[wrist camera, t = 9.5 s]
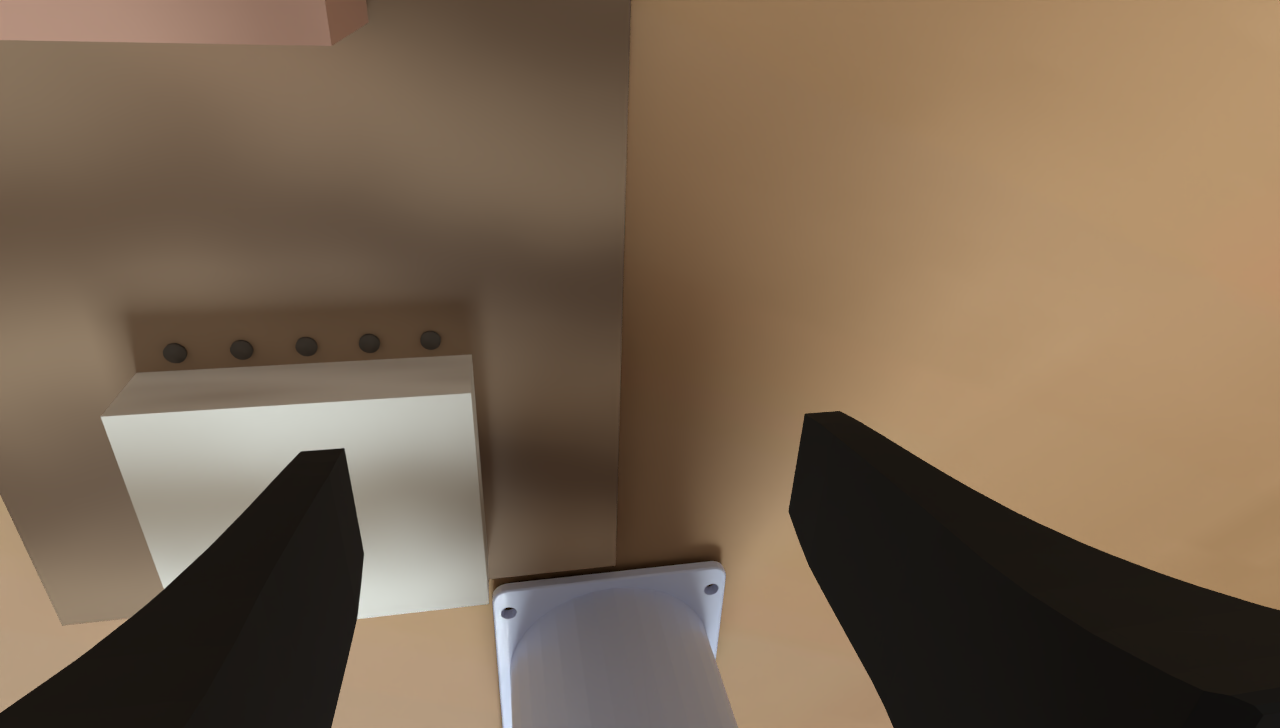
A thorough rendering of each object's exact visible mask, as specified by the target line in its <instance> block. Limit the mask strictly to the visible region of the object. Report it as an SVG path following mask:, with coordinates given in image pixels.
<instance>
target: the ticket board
mask: <svg viewBox="0 0 1280 728" xmlns="http://www.w3.org/2000/svg"><path fill="white" fill-rule="evenodd" d="M366 4H367V12H368V19H369V23H367V24H365V25H364V26H362V27H361V28H359V29H358V30H356V31H354V32H353V33H351V34H350V35H348V36H347V37H345V38H343V39H342V40H340V41H339V42H337V43H336V44H334V45H332V46H303V45H247V44H192V43H136V42H80V41H25V40H0V495H1V497H2V499H3V501H4V503H5V505H6V507H7V510H8V512H9V514H10V516H11V518H12V520H13V522H14V524H15V526H16V529H17V531H18V533H19V535H20V537H21V539H22V541H23V543H24V546H25V548H26V550H27V552H28V554H29V556H30V558H31V560H32V563H33V565H34V567H35V569H36V571H37V573H38V575H39V577H40V579H41V582H42V584H43V586H44V588H45V590H46V592H47V594H48V596H49V599H50V601H51V603H52V605H53V607H54V609H55V611H56V613H57V616H58V618H59V620H60V622H61V624H62V626H63V625H72V624H81V623H90V622H99V621H109V620H118V619H127V618H131V617H132V616H133V615H134V614H136V613H137V612H138V611H139V610H140V609H142V608H143V607H144V606H145V605H146V604H148V603H149V602H150V601H151V600H152V599H153V598H154V597H156V596H157V595H158V594H159V593H160V592H161V591H163V590H164V589H165V588H166V587H167V586H168V585H169V584H170V583H171V582H172V581H173V580H174V579H175V578H176V577H178V576H179V575H180V574H181V573H182V572H183V571H184V570H185V569H186V568H187V567H188V566H189V565H190V564H192V563H193V562H194V561H195V560H196V559H197V558H198V557H199V556H200V555H201V554H202V553H203V552H204V551H206V550H207V549H208V548H209V547H210V546H211V545H212V544H213V543H214V542H215V541H216V540H217V539H218V537H219V536H220V535H221V534H222V533H223V532H224V531H225V530H226V529H227V528H228V527H229V526H230V525H231V524H232V523H233V522H234V521H235V520H236V519H237V518H238V517H239V516H240V515H241V514H242V513H243V512H244V511H245V510H246V509H247V508H248V507H249V506H250V504H251V503H252V502H253V501H254V500H255V499H256V498H257V497H258V496H259V495H260V494H261V493H262V492H263V491H264V490H265V488H266V487H267V486H268V485H269V484H270V483H271V482H272V481H273V480H274V479H275V478H276V477H277V476H278V474H279V473H280V472H281V471H282V470H283V469H284V468H285V467H286V466H287V465H288V464H289V463H290V462H291V461H292V460H293V459H294V458H295V457H296V456H297V455H298V454H299V453H300V452H301V451H312V450H326V449H339V448H345V454H346V459H347V464H348V470H349V475H350V480H351V486H352V491H353V496H354V502H355V507H356V512H357V518H358V523H359V529H360V534H361V539H362V545H363V550H364V561H363V571H362V582H361V591H360V600H359V609H358V616H357V619H362V618H371V617H379V616H388V615H397V614H406V613H414V612H423V611H432V610H441V609H449V608H458V607H467V606H476V605H484V604H489V580H488V579H496V578H505V577H515V576H524V575H533V574H542V573H551V572H561V571H570V570H579V569H588V568H598V567H607V566H616V533H617V496H618V459H619V422H620V385H621V348H622V310H623V273H624V236H625V199H626V162H627V125H628V88H629V51H630V14H631V0H366Z"/></svg>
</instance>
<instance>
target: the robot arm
mask: <svg viewBox="0 0 1280 728" xmlns="http://www.w3.org/2000/svg"><path fill="white" fill-rule="evenodd" d="M789 514H790V517H791V520H792V523H793V525H794V528H795V531H796V534H797V537H798V539H799V542H800V545H801V547H802V550H803V552H804V555H805V557H806V560H807V562H808V565H809V567H810V568H811V570H812V572H813V574H814V576H815V578H816V580H817V582H818V584H819V585H820V587H821V589H822V591H823V593H824V595H825V597H826V598H827V600H828V602H829V604H830V606H831V608H832V610H833V611H834V613H835V615H836V617H837V619H838V620H839V622H840V624H841V626H842V628H843V629H844V631H845V633H846V635H847V637H848V639H849V640H850V642H851V644H852V646H853V648H854V649H855V651H856V653H857V655H858V657H859V658H860V660H861V662H862V664H863V666H864V668H865V669H866V671H867V673H868V675H869V677H870V678H871V680H872V682H873V684H874V686H875V688H876V690H877V692H878V694H879V696H880V698H881V700H882V702H883V704H884V706H885V709H886V711H887V713H888V716H889V718H890V720H891V723H892V725H893V727H894V728H1280V610H1276V609H1272V608H1269V607H1265V606H1261V605H1258V604H1254V603H1251V602H1248V601H1244V600H1241V599H1238V598H1235V597H1231V596H1228V595H1225V594H1222V593H1218V592H1215V591H1212V590H1209V589H1205V588H1202V587H1199V586H1196V585H1193V584H1190V583H1187V582H1184V581H1181V580H1178V579H1175V578H1172V577H1169V576H1166V575H1164V574H1161V573H1158V572H1155V571H1153V570H1150V569H1147V568H1145V567H1142V566H1139V565H1137V564H1134V563H1131V562H1129V561H1126V560H1123V559H1121V558H1118V557H1116V556H1113V555H1110V554H1108V553H1105V552H1103V551H1100V550H1098V549H1095V548H1093V547H1091V546H1088V545H1086V544H1083V543H1081V542H1079V541H1076V540H1074V539H1072V538H1070V537H1068V536H1066V535H1063V534H1061V533H1059V532H1057V531H1055V530H1052V529H1050V528H1048V527H1046V526H1044V525H1041V524H1039V523H1037V522H1035V521H1033V520H1031V519H1029V518H1027V517H1025V516H1023V515H1021V514H1018V513H1016V512H1014V511H1013V510H1011V509H1009V508H1007V507H1005V506H1003V505H1001V504H999V503H997V502H996V501H994V500H992V499H990V498H988V497H986V496H984V495H983V494H981V493H979V492H977V491H975V490H973V489H971V488H970V487H968V486H966V485H964V484H963V483H961V482H959V481H957V480H956V479H954V478H952V477H950V476H949V475H947V474H945V473H944V472H942V471H940V470H938V469H937V468H935V467H933V466H932V465H930V464H928V463H927V462H925V461H923V460H922V459H920V458H919V457H917V456H915V455H914V454H912V453H910V452H909V451H907V450H905V449H904V448H902V447H901V446H899V445H897V444H896V443H894V442H892V441H891V440H889V439H888V438H886V437H884V436H883V435H881V434H879V433H878V432H876V431H874V430H873V429H871V428H869V427H868V426H866V425H864V424H863V423H861V422H859V421H857V420H856V419H854V418H852V417H850V416H848V415H846V414H844V413H842V412H840V411H835V412H822V413H808V414H805V416H804V422H803V428H802V434H801V440H800V446H799V452H798V458H797V464H796V470H795V476H794V482H793V488H792V494H791V500H790V506H789ZM363 561H364V550H363V545H362V539H361V534H360V529H359V523H358V518H357V512H356V507H355V502H354V496H353V491H352V486H351V480H350V475H349V470H348V464H347V459H346V454H345V448H339V449H326V450H312V451H301V452H300V453H299V454H298V455H297V456H296V457H295V458H294V459H293V460H292V461H291V462H290V463H289V464H288V465H287V466H286V467H285V468H284V469H283V470H282V471H281V472H280V473H279V474H278V476H277V477H276V478H275V479H274V480H273V481H272V482H271V483H270V484H269V485H268V486H267V487H266V488H265V490H264V491H263V492H262V493H261V494H260V495H259V496H258V497H257V498H256V499H255V500H254V501H253V502H252V503H251V504H250V506H249V507H248V508H247V509H246V510H245V511H244V512H243V513H242V514H241V515H240V516H239V517H238V518H237V519H236V520H235V521H234V522H233V523H232V524H231V525H230V526H229V527H228V528H227V529H226V530H225V531H224V532H223V533H222V534H221V535H220V536H219V537H218V539H217V540H216V541H215V542H214V543H213V544H212V545H211V546H210V547H209V548H208V549H207V550H206V551H204V552H203V553H202V554H201V555H200V556H199V557H198V558H197V559H196V560H195V561H194V562H193V563H192V564H190V565H189V566H188V567H187V568H186V569H185V570H184V571H183V572H182V573H181V574H180V575H179V576H178V577H176V578H175V579H174V580H173V581H172V582H171V583H170V584H169V585H168V586H167V587H166V588H165V589H164V590H163V591H161V592H160V593H159V594H158V595H157V596H156V597H154V598H153V599H152V600H151V601H150V602H149V603H148V604H146V605H145V606H144V607H143V608H142V609H140V610H139V611H138V612H137V613H136V614H134V615H133V616H132V617H131V618H130V619H128V620H127V621H126V622H125V623H123V624H122V625H121V626H119V627H118V628H117V629H116V630H114V631H113V632H112V633H111V634H109V635H108V636H107V637H105V638H104V639H103V640H102V641H100V642H99V643H98V644H97V645H95V646H94V647H93V648H92V649H90V650H89V651H88V652H86V653H85V654H84V655H82V656H81V657H80V658H78V659H77V660H76V661H74V662H73V663H71V664H70V665H68V666H67V667H66V668H64V669H63V670H61V671H60V672H58V673H57V674H56V675H54V676H53V677H51V678H50V679H48V680H47V681H46V682H44V683H43V684H41V685H40V686H38V687H37V688H36V689H34V690H33V691H31V692H30V693H28V694H27V695H25V696H24V697H23V698H21V699H20V700H18V701H17V702H15V703H14V704H13V705H11V706H10V707H8V708H7V709H5V710H4V711H3V712H1V713H0V728H331V726H332V722H333V718H334V714H335V710H336V705H337V701H338V697H339V693H340V689H341V685H342V681H343V676H344V672H345V668H346V664H347V660H348V655H349V651H350V647H351V643H352V638H353V634H354V630H355V625H356V621H357V616H358V609H359V600H360V591H361V582H362V571H363ZM725 580H726V573H725V570H724V568H723V566H722V564H721V563H719V562H717V561H707V562H697V563H688V564H679V565H670V566H661V567H652V568H643V569H634V570H625V571H616V572H606V573H597V574H588V575H579V576H570V577H561V578H552V579H543V580H534V581H525V582H515V583H507V584H503V585H500V586H499V587H497V588H496V589H495V590H494V592H493V596H492V597H493V614H494V626H495V638H496V651H497V663H498V675H499V688H500V700H501V712H502V725H503V728H738V726H737V723H736V720H735V717H734V714H733V711H732V708H731V705H730V702H729V699H728V696H727V693H726V690H725V687H724V684H723V681H722V678H721V675H720V672H719V669H718V666H717V663H716V653H717V645H718V637H719V629H720V621H721V612H722V604H723V596H724V588H725ZM710 584H713V585H712V586H709V587H706V586H708V585H710ZM508 607H510V608H513V609H510V610H504V609H505V608H508Z"/></svg>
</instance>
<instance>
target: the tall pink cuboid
mask: <svg viewBox="0 0 1280 728" xmlns="http://www.w3.org/2000/svg"><path fill="white" fill-rule="evenodd" d="M367 23H369V19H368V12H367V4H366V0H0V40H25V41H80V42H136V43H192V44H247V45H303V46H332V45H334V44H336V43H337V42H339V41H340V40H342V39H343V38H345V37H347V36H348V35H350V34H351V33H353V32H354V31H356V30H358V29H359V28H361V27H362V26H364V25H365V24H367Z"/></svg>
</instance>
